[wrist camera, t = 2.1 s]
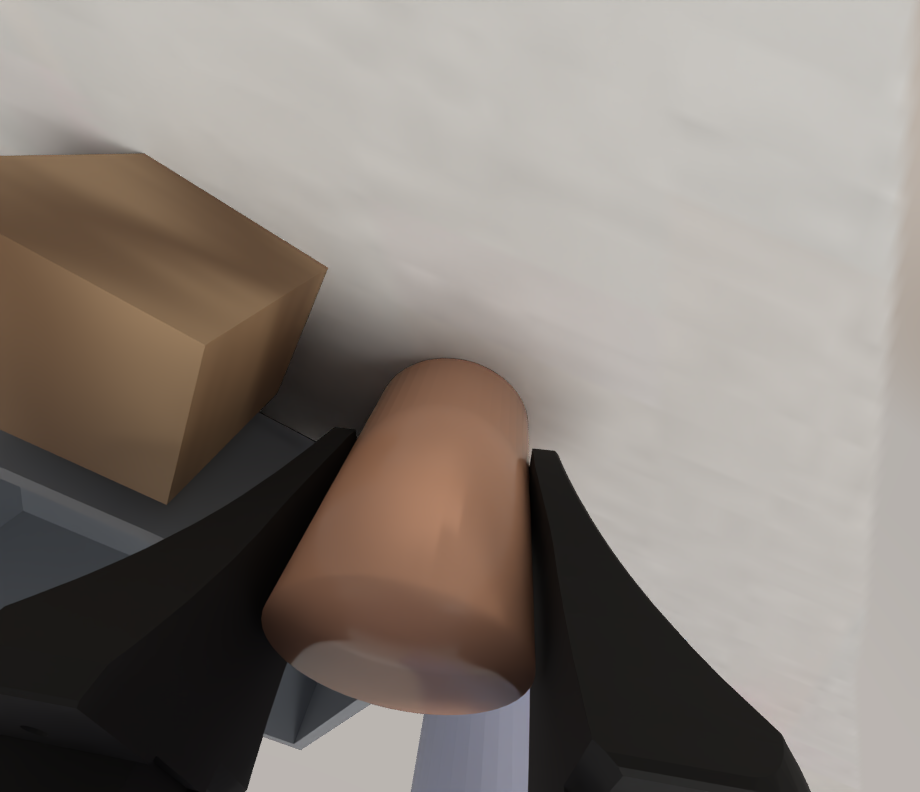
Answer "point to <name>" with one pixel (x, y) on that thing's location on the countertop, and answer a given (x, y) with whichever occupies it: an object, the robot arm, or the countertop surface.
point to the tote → (143, 538)
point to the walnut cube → (138, 316)
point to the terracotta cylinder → (420, 553)
